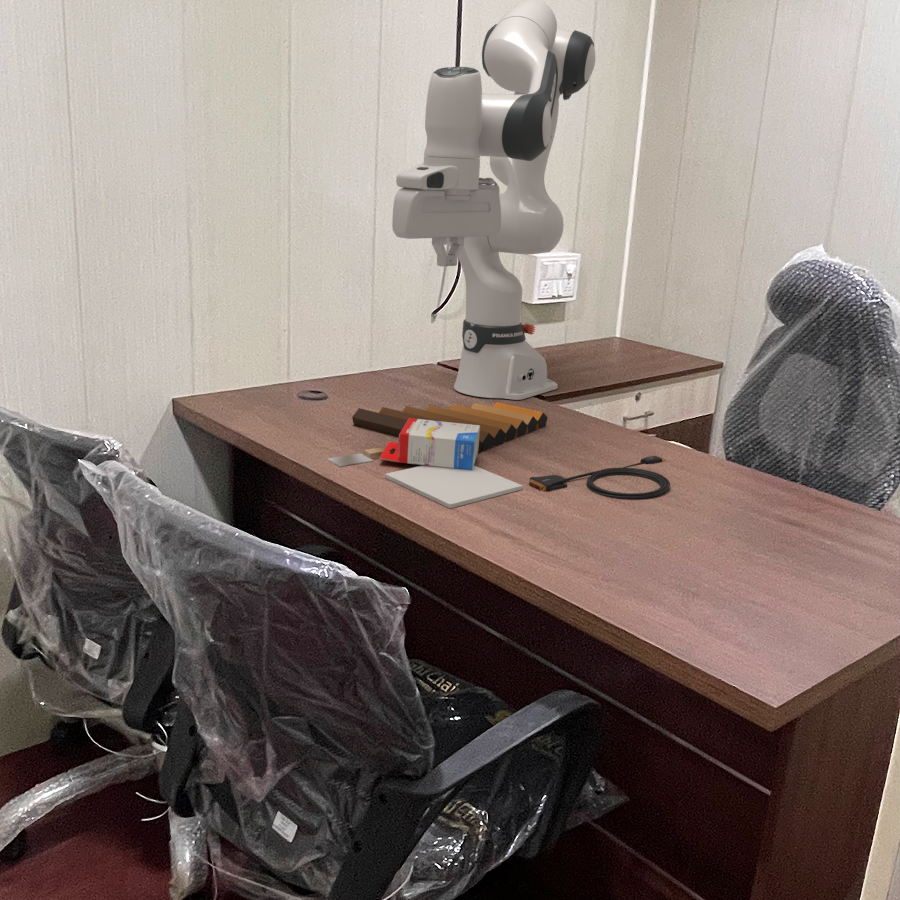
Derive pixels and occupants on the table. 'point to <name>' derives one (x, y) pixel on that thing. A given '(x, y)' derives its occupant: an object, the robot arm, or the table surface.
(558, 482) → the cable
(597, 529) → the table surface
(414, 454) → the ink box
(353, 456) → the turner
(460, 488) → the mat
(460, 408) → the pan flute
